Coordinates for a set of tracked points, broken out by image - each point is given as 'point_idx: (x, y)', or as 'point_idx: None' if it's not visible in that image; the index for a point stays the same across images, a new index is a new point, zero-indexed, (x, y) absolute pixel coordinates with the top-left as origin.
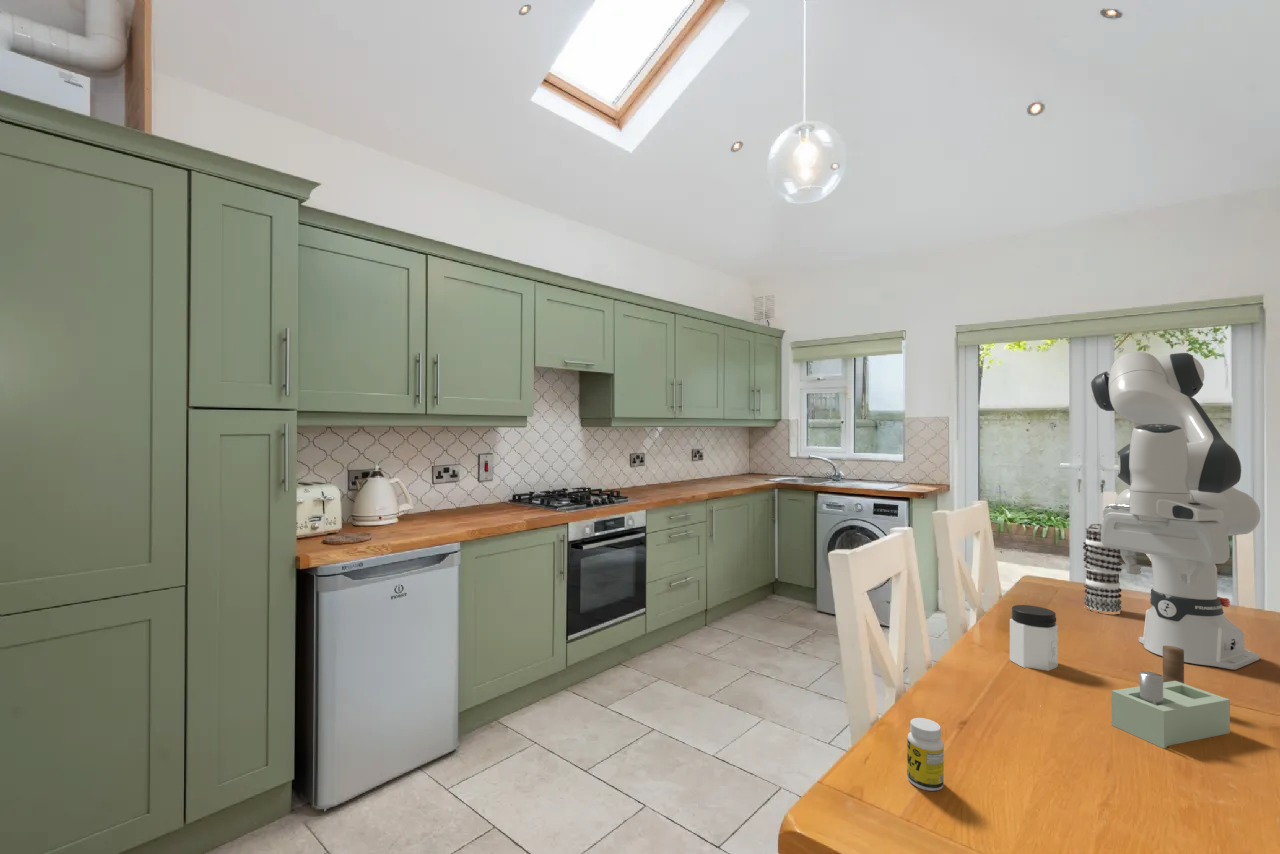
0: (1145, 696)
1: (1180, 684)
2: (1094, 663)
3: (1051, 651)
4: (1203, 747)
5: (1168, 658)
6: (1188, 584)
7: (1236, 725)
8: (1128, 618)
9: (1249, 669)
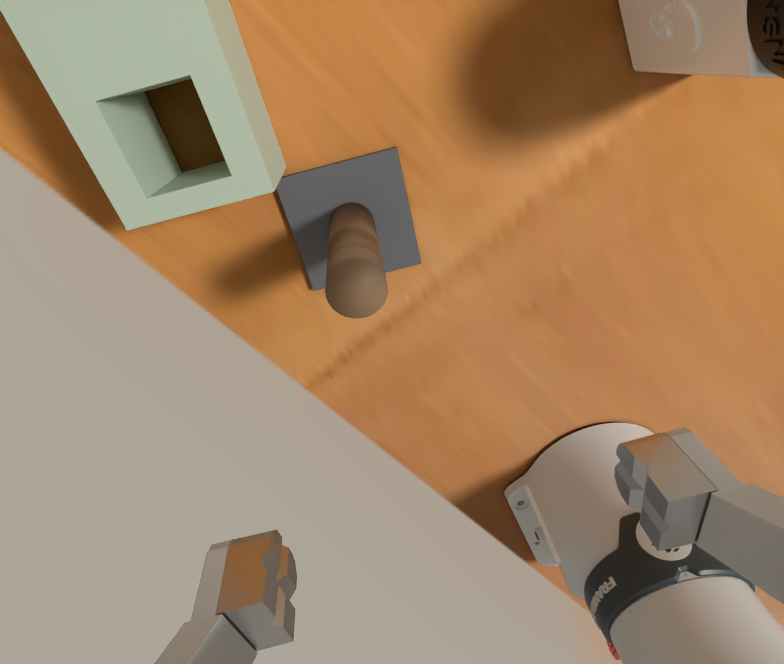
0: None
1: (238, 178)
2: (620, 234)
3: (663, 5)
4: None
5: (345, 250)
6: (232, 540)
7: (231, 268)
8: None
9: (503, 514)
